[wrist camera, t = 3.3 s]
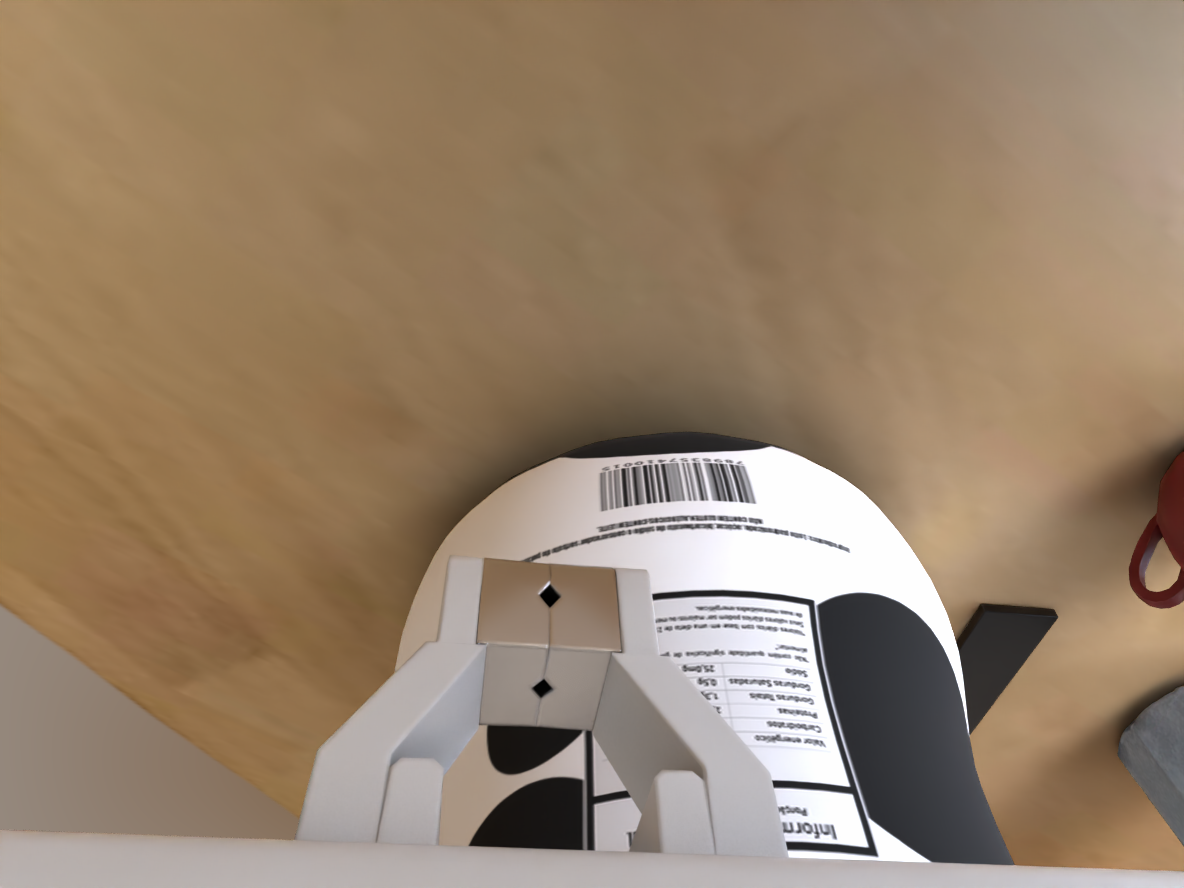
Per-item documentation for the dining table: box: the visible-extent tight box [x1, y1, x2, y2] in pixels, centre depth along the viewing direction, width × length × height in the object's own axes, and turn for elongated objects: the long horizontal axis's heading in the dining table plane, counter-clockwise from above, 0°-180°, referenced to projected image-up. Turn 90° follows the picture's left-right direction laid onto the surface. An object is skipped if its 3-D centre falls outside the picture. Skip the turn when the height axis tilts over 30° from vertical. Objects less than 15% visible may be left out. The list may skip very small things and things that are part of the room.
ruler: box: [956, 604, 1058, 736], centre depth 40 cm, size 26×3×1 cm, turn 172°
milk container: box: [395, 432, 1014, 865], centre depth 23 cm, size 17×17×18 cm
